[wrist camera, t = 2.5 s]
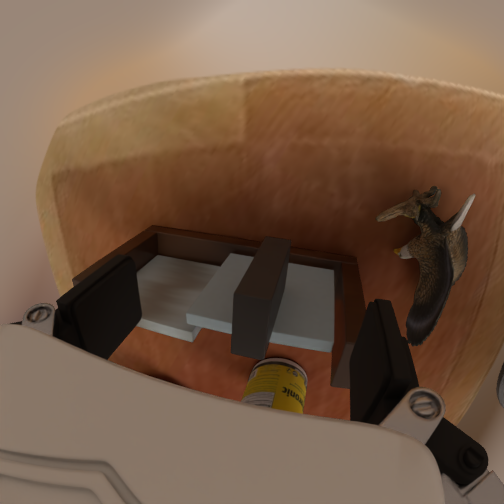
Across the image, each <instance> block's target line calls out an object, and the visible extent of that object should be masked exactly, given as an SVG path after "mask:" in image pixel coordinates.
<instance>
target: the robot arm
mask: <svg viewBox="0 0 504 504" xmlns="http://www.w3.org/2000/svg"><path fill="white" fill-rule="evenodd" d="M56 302H57V305H58V309H56V310H55V308H54V306H53V305H51V304H48V303H41V304H36V305H34V306H32V307H30V308H29V309H28V310H27V311H26V312H25V314H24V316H23V320H22V321H21V322H16V323H11V324H2V325H0V504H504V485H503V483H502V482H501V481H500V479H499V478H498V476H497V475H496V474H495V472H494V471H493V470H492V471H491V472H489V471H488V470H487V466H488V456H487V453H486V451H485V449H484V448H483V447H482V446H481V445H480V444H479V443H477V442H476V441H475V440H473V439H472V438H471V437H469V436H468V435H466V434H465V433H464V432H463V431H461V430H460V429H458V428H457V427H456V426H454V425H453V424H452V423H450V422H449V421H448V420H446V419H445V418H444V417H443V416H444V413H445V403H444V400H443V399H442V397H441V396H440V395H439V394H438V393H437V392H436V391H434V390H432V389H430V388H426V387H419V384H418V379H417V375H416V372H415V368H414V364H413V360H412V356H411V353H410V349H409V346H408V342H407V340H406V338H405V337H401V334H400V330H399V327H398V323H397V320H396V317H395V313H394V310H393V307H392V304H391V301H389V300H383V299H375V300H374V302H369V304H368V307H367V310H366V313H365V316H364V319H363V322H362V325H361V328H360V331H359V334H358V337H357V340H356V343H355V345H354V348H353V351H352V353H351V356H350V362H349V369H350V421H349V420H342V419H336V418H328V417H320V416H313V415H307V414H301V413H295V412H289V411H283V410H278V409H272V408H267V407H262V406H257V405H252V404H248V403H243V402H239V401H235V400H230V399H226V398H222V397H218V396H215V395H211V394H207V393H203V392H200V391H196V390H193V389H189V388H186V387H182V386H179V385H176V384H173V383H169V382H166V381H163V380H160V379H157V378H154V377H151V376H148V375H145V374H143V373H140V372H137V371H134V370H132V369H129V368H126V367H124V366H121V365H118V364H116V363H113V362H111V361H108V360H107V359H108V358H109V357H110V356H111V355H112V353H113V352H114V351H115V350H116V349H117V347H118V346H119V345H120V344H121V343H122V342H123V340H124V339H125V338H126V337H127V336H128V334H129V333H130V332H131V331H132V330H133V329H134V328H135V326H136V325H137V324H138V323H139V322H140V320H141V318H142V309H141V302H140V295H139V288H138V280H137V272H136V264H135V261H134V260H133V259H132V257H131V256H127V255H122V254H118V255H116V256H115V257H113V258H112V259H110V260H109V261H108V262H106V263H105V264H103V265H102V266H101V267H99V268H98V269H97V270H95V271H94V272H93V273H91V274H90V275H89V276H87V277H86V278H85V279H83V280H82V281H81V282H79V283H78V284H77V285H76V286H74V287H73V288H72V289H70V290H69V291H68V292H67V293H65V294H64V295H63V296H62V297H60V298H59V299H58V300H57V301H56Z"/></svg>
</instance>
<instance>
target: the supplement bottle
mask: <svg viewBox="0 0 504 504" xmlns="http://www.w3.org/2000/svg"><path fill="white" fill-rule="evenodd" d="M306 389H307V376H306V373H305V372H304V370H303V369H302V368H301V367H300V366H299V365H298V364H296V363H294V362H293V361H290V360H287V359H283V358H269V359H265V360H262V361H260V362H259V363H257V364H256V365H255V366H254V368H253V370H252V372H251V375H250V377H249V380H248V383H247V386H246V389H245V392H244V395H243V397H242V400H241V402H243V403H248V404H252V405H257V406H262V407H267V408H272V409H278V410H283V411H289V412H295V413H301V414H303V408H304V402H305V395H306Z"/></svg>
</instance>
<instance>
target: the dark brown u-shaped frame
mask: <svg viewBox="0 0 504 504" xmlns="http://www.w3.org/2000/svg"><path fill="white" fill-rule="evenodd" d="M261 244H262V242H257V241H251V240H245V239H238V238H232V237H225V236H219V235H212V234H206V233H199V232H193V231H186V230H179V229H173V228H166V227H159V226H151V227H149V228H148V229H146V230H145V231H143V232H141V233H140V234H138V235H137V236H135V237H134V238H132V239H130V240H129V241H127V242H126V243H124V244H123V245H121V246H120V247H118V248H117V249H115V250H114V251H112V252H111V253H109V254H108V255H106V256H105V257H103V258H102V259H100V260H99V261H97V262H96V263H94V264H93V265H91V266H90V267H89V268H87V269H86V270H84V271H83V272H81V273H80V274H79V275H77V276H76V277H74V278H73V279H72V281H73V285H74V286H76V285H77V284H78V283H79V282H81V281H82V280H83V279H85V278H86V277H87V276H89V275H90V274H91V273H93V272H94V271H95V270H97V269H98V268H99V267H101V266H102V265H103V264H105V263H106V262H108V261H109V260H110V259H112V258H113V257H115V256H116V255H118V254H122V255H127V256H131V257H132V259H133V260H134V261H135V264H136V272H137V280H138V288H139V295H140V302H141V309H142V318H141V320H140V322H139V323H138V324H137V325H136V326H139V327H142V328H145V329H148V330H151V331H155V332H158V333H161V334H165V335H168V336H171V337H175V338H179V339H182V340H186V341H189V342H193V341H194V339H195V338H196V336H197V335H198V333H199V331H200V330H201V328H202V327H199V326H195V325H191V324H187V319H186V312H187V311H188V310H189V308H190V307H191V306H192V304H193V303H194V301H195V300H196V299H197V297H198V296H199V295H200V293H201V292H202V291H203V289H204V288H205V287H206V285H207V284H208V283H209V281H210V280H211V279H212V277H213V276H214V275H215V273H216V272H217V271H218V269H219V268H220V267H221V265H222V264H223V263H224V261H225V260H226V259H227V257H228V256H229V255H230V253H233V254H239V255H245V256H251V257H254V256H255V255H256V253H257V251H258V249H259V248H260V246H261ZM289 263H293V264H299V265H305V266H311V267H317V268H323V269H329V270H334V344H333V348H332V365H331V384H330V385H331V386H332V387H339V388H347V389H350V369H349V362H350V356H351V353H352V351H353V348H354V345H355V343H356V340H357V337H358V334H359V331H360V328H361V325H362V322H363V319H364V316H365V313H366V307H365V301H364V295H363V290H362V284H361V279H360V273H359V268H358V262H357V258H356V257H350V256H344V255H338V254H332V253H326V252H319V251H313V250H307V249H301V248H295V247H291V248H290V256H289Z"/></svg>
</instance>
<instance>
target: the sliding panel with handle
mask: <svg viewBox="0 0 504 504" xmlns="http://www.w3.org/2000/svg"><path fill="white" fill-rule="evenodd" d="M290 248H291V240H286V239H280V238H274V237H267V236H266V237H265V239H264V240H263V242H262V244H261V246H260V248H259V249H258V251H257V253H256V255H255V256H254V257H251V256H245V255H239V254H233V253H230V255H229V256H228V257H227V259H226V260H225V261H224V263H223V264H222V265H221V267H220V268H219V269H218V271H217V272H216V273H215V275H214V276H213V277H212V279H211V280H210V281H209V283H208V284H207V285H206V287H205V288H204V289H203V291H202V292H201V293H200V295H199V296H198V297H197V299H196V300H195V301H194V303H193V304H192V306H191V307H190V308H189V310H188V311H187V312H186V319H187V324H191V325H195V326H199V327H203V328H207V329H212V330H216V331H220V332H224V333H229V334H232V337H231V353H232V354H236V355H241V356H245V357H250V358H254V359H259V360H264V358H265V354H266V351H267V348H268V345H269V342H272V343H277V344H283V345H288V346H294V347H299V348H305V349H311V350H318V351H324V352H331V351H332V348H333V344H334V270H329V269H323V268H317V267H311V266H305V265H299V264H293V263H289V256H290Z"/></svg>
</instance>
